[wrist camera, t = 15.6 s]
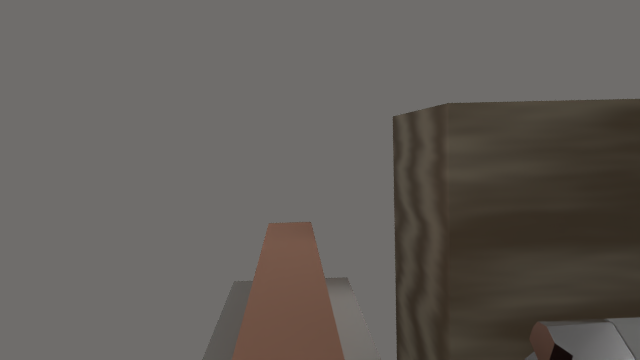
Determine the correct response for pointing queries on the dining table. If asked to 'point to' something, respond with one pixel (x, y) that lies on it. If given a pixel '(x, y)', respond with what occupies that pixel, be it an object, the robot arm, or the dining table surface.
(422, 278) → the stand
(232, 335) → the seat block
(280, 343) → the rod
